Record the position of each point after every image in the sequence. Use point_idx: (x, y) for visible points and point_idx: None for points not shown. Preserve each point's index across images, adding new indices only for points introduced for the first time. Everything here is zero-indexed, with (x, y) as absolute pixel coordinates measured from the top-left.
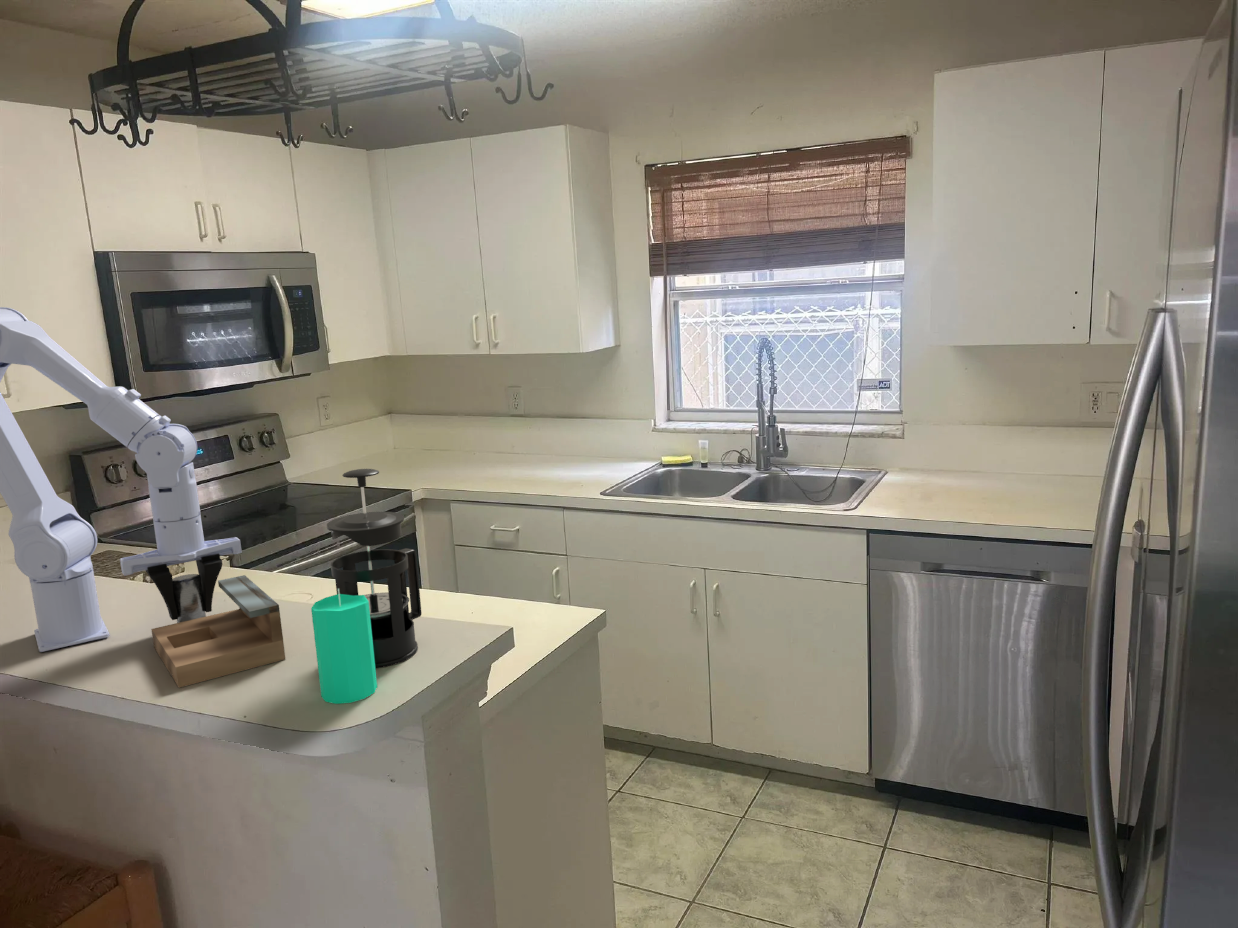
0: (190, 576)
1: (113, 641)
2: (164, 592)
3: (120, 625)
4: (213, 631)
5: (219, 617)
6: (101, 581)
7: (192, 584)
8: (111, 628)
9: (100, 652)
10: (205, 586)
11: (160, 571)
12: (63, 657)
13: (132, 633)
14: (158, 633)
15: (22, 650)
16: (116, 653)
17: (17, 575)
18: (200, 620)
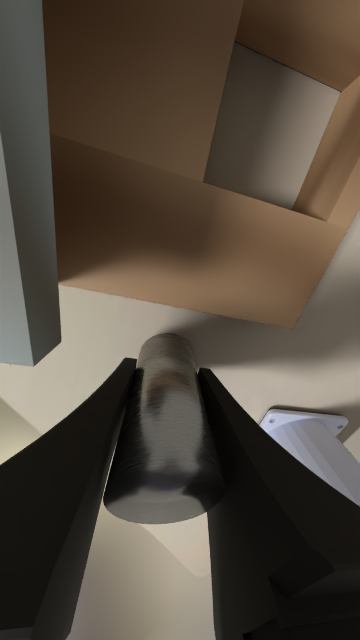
0: (142, 504)
1: (274, 390)
2: (266, 437)
3: None
4: (223, 83)
5: (136, 255)
6: (169, 543)
7: (162, 441)
8: None
9: (315, 362)
10: (113, 415)
11: (323, 602)
12: (346, 382)
13: (240, 401)
14: (312, 277)
15: (339, 436)
16: (310, 337)
17: (208, 570)
18: (188, 283)
